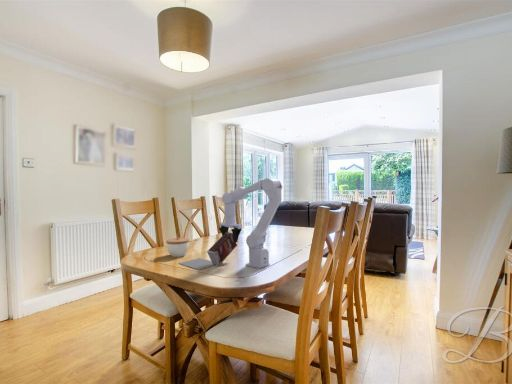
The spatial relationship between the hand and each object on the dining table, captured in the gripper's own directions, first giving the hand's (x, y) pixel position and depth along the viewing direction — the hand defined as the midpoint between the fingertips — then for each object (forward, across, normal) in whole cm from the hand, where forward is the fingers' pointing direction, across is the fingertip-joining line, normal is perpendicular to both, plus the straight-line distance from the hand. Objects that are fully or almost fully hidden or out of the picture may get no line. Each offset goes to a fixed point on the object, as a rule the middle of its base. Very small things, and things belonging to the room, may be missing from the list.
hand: (230, 241), depth 141 cm
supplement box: (+7, -1, +13) cm, 14 cm away
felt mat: (+10, +9, +14) cm, 19 cm away
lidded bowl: (+11, +33, +10) cm, 36 cm away
